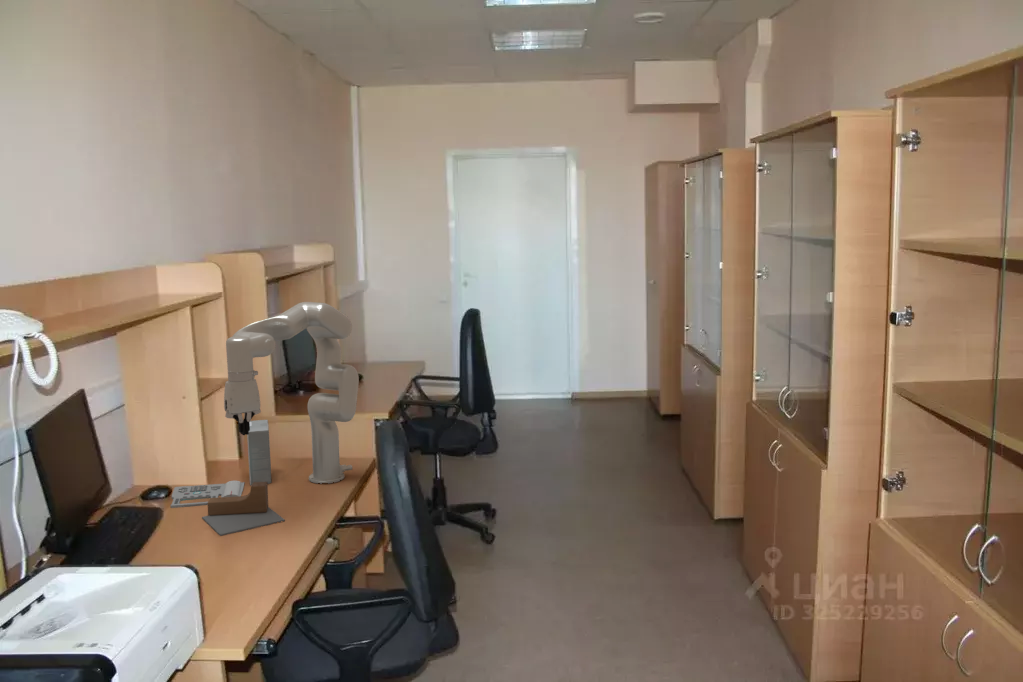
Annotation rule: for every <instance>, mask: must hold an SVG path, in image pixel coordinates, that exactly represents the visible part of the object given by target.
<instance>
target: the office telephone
mask: <svg viewBox="0 0 1023 682" xmlns="http://www.w3.org/2000/svg"><path fill="white" fill-rule="evenodd" d="M244 487H245V481H243V482H242V481H240V480H230V481H227V482H226V483H212V484H200V485H199V484H198V485H197V484H196V485H183V486H174V487H173V491H172V494H171V500H172V502H171V504H170V508H171V509H177V508H187V507H199V506H202V507H203V506H208V504H207V503H208V501H199V502H198V501H197V502H188V503H187V502H186V503H181V501H190V500H202V499H203V500H204V499H210V498H218V497H238V496H241V495H242V494H243V493H242V492H243V491H244ZM242 496H243V495H242Z"/></svg>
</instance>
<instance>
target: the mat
mask: <svg viewBox="0 0 1023 682" xmlns="http://www.w3.org/2000/svg"><path fill="white" fill-rule="evenodd" d="M201 519H202V520H203V521H204V522H205V523H206V524H207V525H208V526H209V527H210V528H211V529H212V530H213V531H214V532H215V533H216V534H217V535H218V536H219V537H221V536H227V535H231V534H234V533H240V532H243V531H249V530H252V529H257V528H261V526H262V527H266V526H271V525H274V524H273V523H275V524H278V523H277V522H279V523H282V522H281V521H283V522H285V521H286V519H284V517H282V516H281V515H280V514H278V513H277V512H276V511H275V510H273V509H272V508H270V507H269V506H268V509H267V512H263V513H244V514H226V515H208V514H207V515H204V516H201ZM265 525H266V526H265ZM248 529H249V530H248Z"/></svg>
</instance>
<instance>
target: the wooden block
mask: <svg viewBox="0 0 1023 682" xmlns="http://www.w3.org/2000/svg"><path fill="white" fill-rule="evenodd" d="M249 490H250V491H249V493H248V494H245V495H242V496H238V497H221V496H219V497H218V498H208V501H207V502H208V503H207V504H208V505H207V516H208V515H226V514H244V513H263V512H267V509H268V507H269V492H268V484H267V482H253V484H252V485H250V489H249Z"/></svg>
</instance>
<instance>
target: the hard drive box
mask: <svg viewBox="0 0 1023 682" xmlns="http://www.w3.org/2000/svg"><path fill="white" fill-rule="evenodd" d="M249 424H250V431H249V434H248V435H246V440H247V454H248V456H247V457H248V459H247V460H248V475H249V477H248V478H249V486H252V484H253V482H267V485H268V484H270V483H271V484H272V462H271V444H270V442H271V441H270V427H269V420H268V419H258V420H251V421H250V422H249Z"/></svg>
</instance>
